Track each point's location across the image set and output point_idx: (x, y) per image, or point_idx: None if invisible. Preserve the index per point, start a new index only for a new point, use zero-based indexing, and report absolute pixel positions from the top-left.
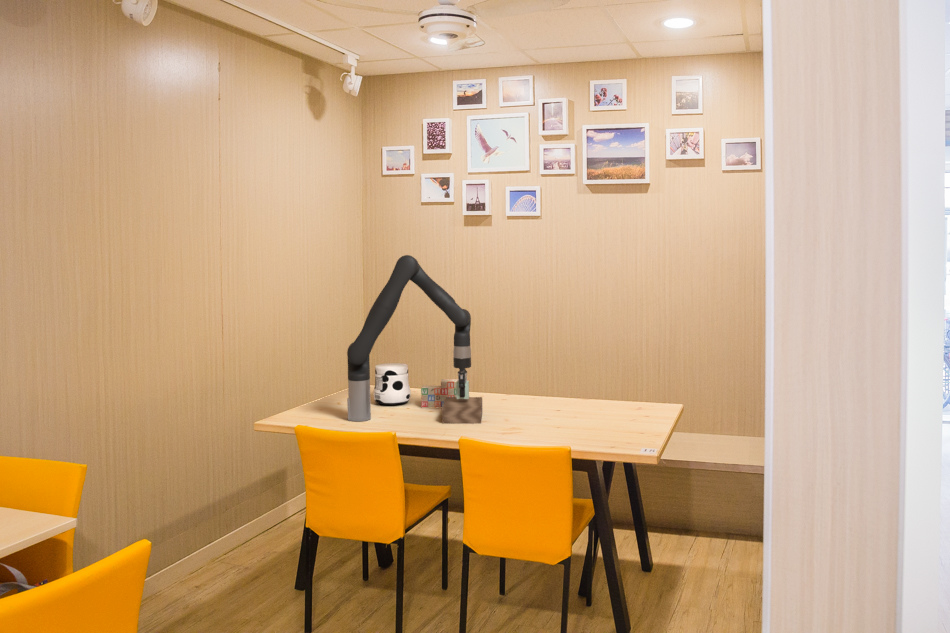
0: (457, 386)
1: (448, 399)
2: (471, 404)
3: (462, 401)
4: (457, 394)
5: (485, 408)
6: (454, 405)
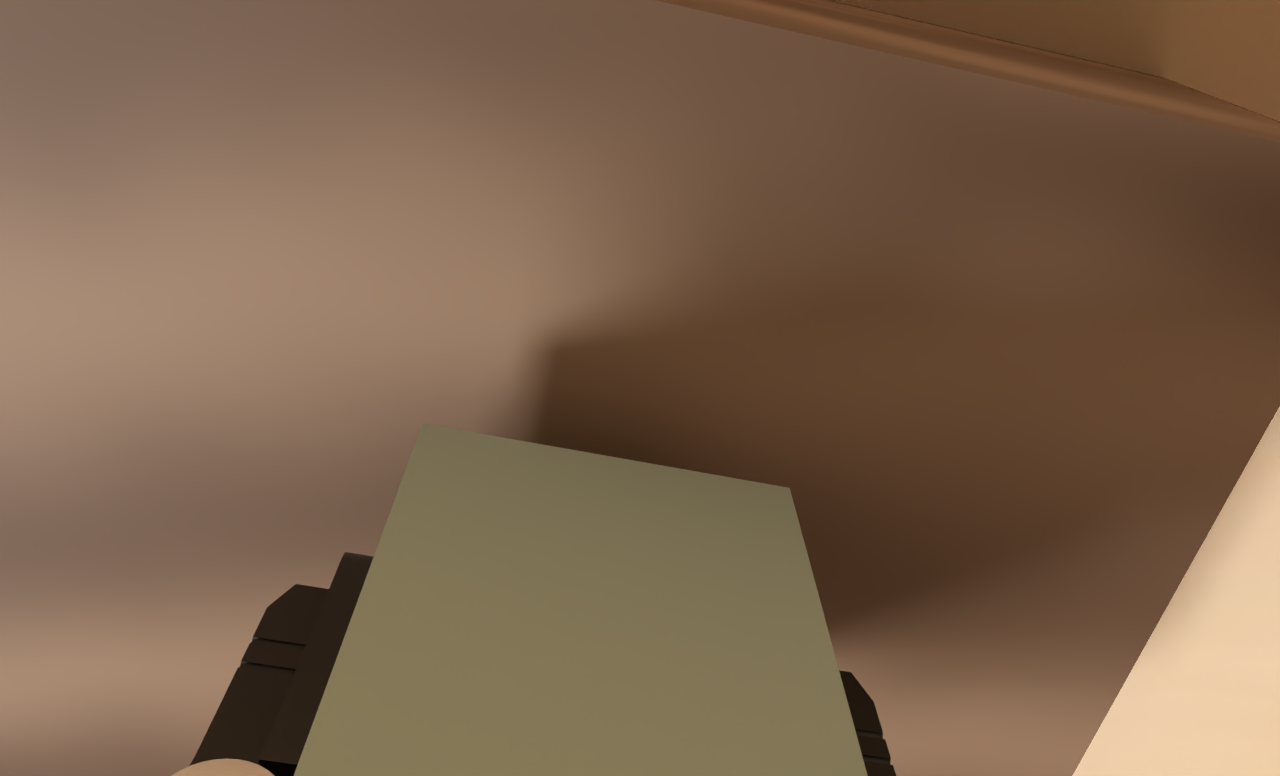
0: (311, 764)
1: (1024, 203)
2: (214, 664)
3: None
4: (391, 530)
5: (1198, 761)
6: (88, 259)
